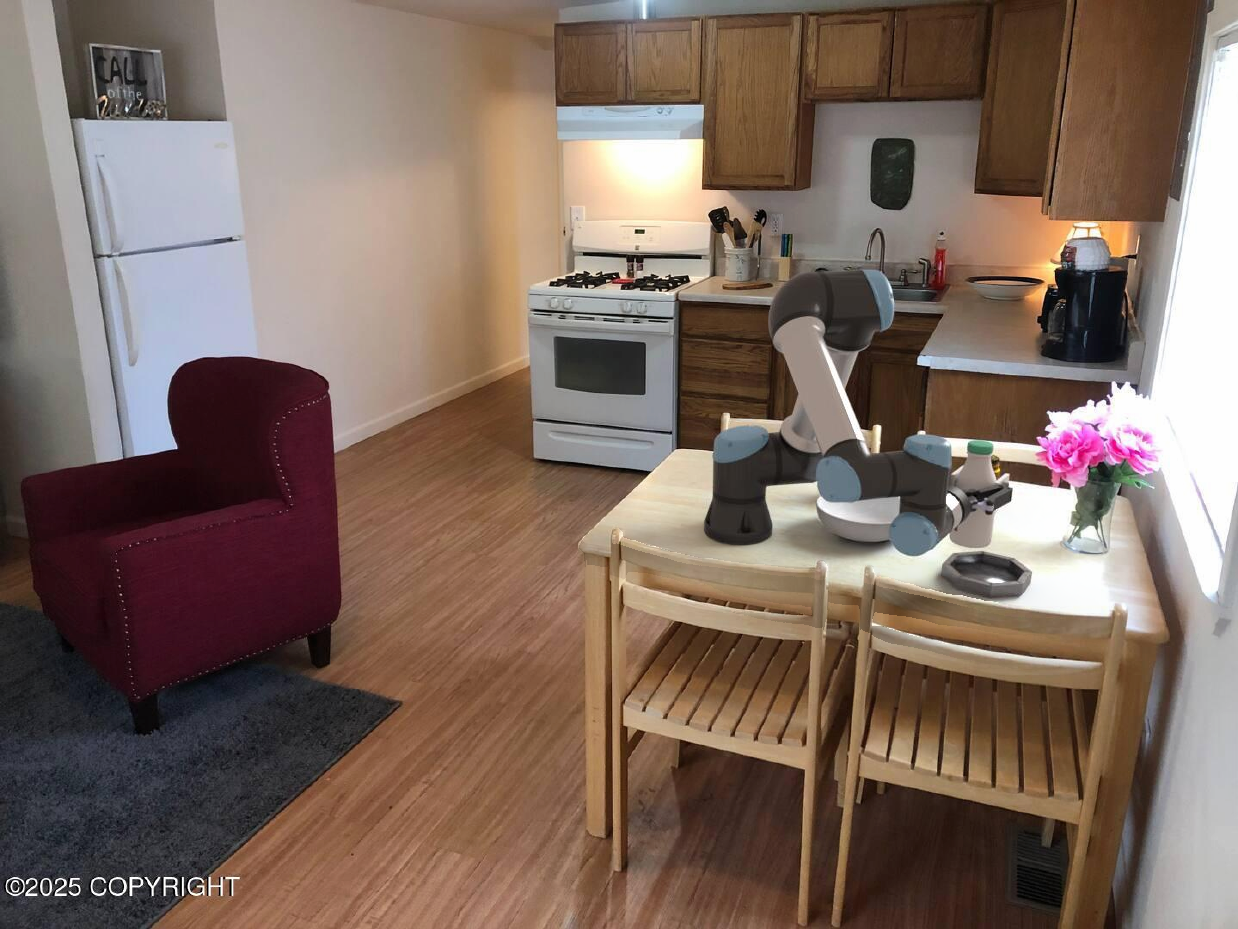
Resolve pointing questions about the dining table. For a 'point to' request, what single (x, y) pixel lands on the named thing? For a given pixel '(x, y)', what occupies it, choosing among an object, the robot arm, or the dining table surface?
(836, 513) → the serving bowl
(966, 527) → the milk bottle
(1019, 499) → the dining table surface
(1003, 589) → the grey octagonal tray
